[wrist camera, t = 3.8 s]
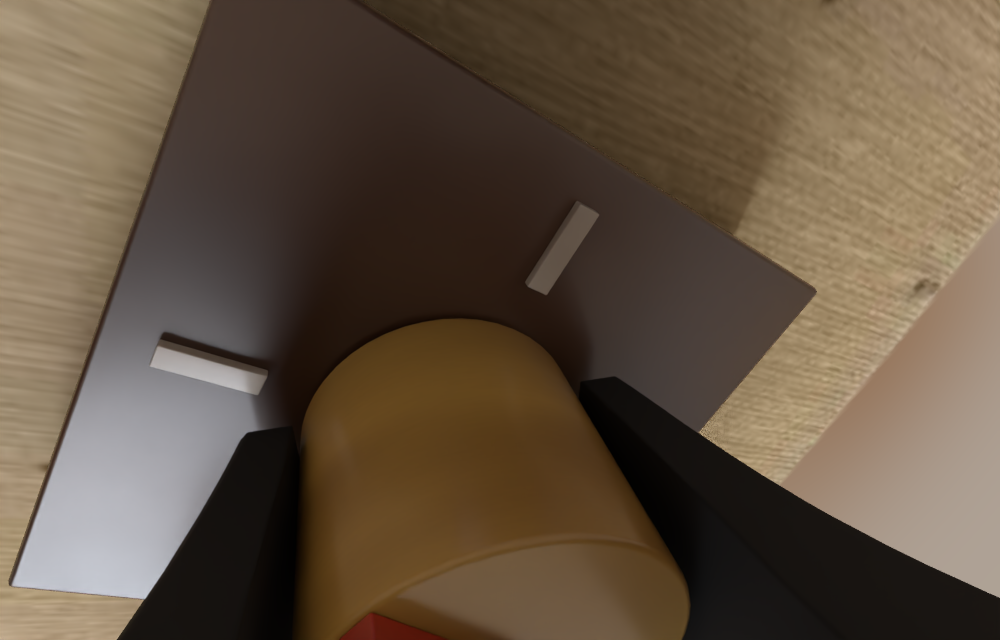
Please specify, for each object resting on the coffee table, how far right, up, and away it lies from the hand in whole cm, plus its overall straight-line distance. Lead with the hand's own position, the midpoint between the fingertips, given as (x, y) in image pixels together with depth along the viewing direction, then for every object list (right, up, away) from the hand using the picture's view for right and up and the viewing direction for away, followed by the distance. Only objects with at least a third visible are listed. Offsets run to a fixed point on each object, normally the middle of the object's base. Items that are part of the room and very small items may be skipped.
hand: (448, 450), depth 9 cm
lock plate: (-1, +1, +2) cm, 3 cm away
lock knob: (0, 0, 0) cm, 0 cm away
